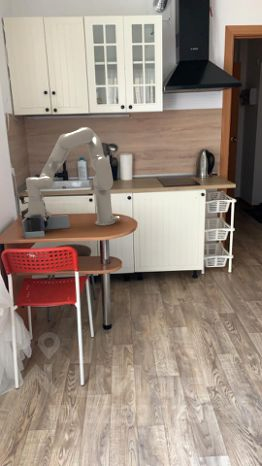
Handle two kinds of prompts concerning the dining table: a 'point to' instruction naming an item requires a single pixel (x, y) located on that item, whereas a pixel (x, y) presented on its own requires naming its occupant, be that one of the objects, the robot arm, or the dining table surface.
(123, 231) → the dining table surface
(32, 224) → the small box
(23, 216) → the coffee grinder
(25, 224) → the shelf
